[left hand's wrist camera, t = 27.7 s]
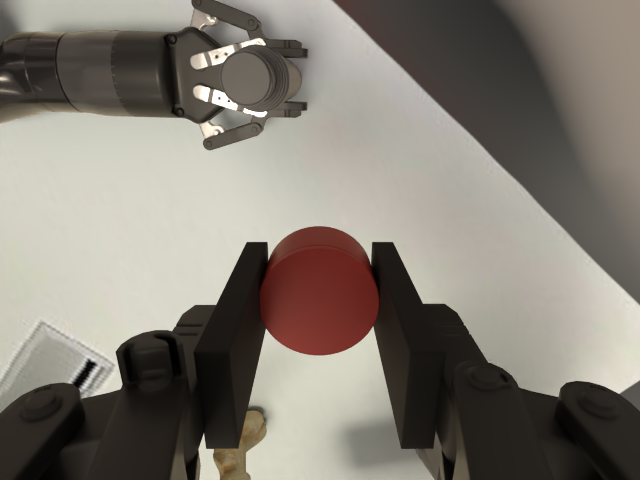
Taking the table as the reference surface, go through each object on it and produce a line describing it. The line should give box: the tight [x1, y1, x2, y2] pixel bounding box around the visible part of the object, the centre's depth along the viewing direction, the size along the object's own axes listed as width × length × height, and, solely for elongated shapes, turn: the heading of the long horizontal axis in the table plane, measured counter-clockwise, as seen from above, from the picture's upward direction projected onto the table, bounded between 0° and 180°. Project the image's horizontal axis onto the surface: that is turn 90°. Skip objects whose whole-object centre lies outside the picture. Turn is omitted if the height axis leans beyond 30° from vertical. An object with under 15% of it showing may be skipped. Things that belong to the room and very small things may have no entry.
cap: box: [260, 226, 380, 355], centre depth 14 cm, size 4×4×2 cm
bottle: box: [219, 44, 301, 112], centre depth 32 cm, size 4×4×25 cm
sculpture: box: [213, 411, 266, 480], centre depth 55 cm, size 6×7×15 cm
